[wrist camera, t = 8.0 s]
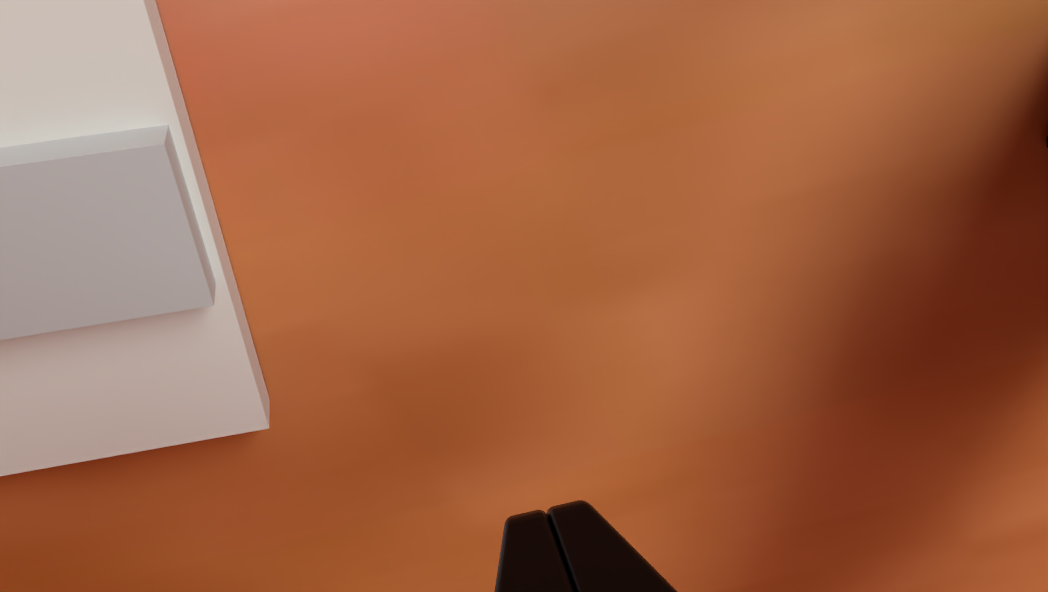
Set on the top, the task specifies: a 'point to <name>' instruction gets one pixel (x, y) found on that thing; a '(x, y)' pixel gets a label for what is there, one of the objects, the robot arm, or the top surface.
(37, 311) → the rail plate
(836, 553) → the top surface
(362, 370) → the top surface
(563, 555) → the robot arm
